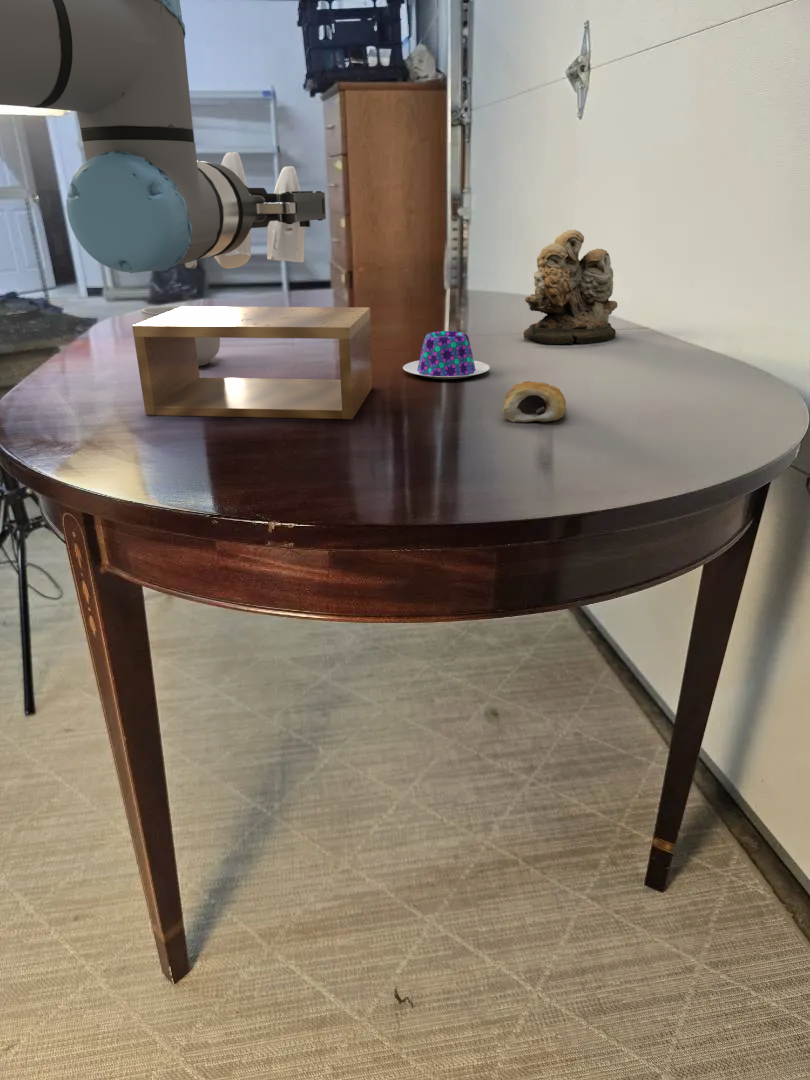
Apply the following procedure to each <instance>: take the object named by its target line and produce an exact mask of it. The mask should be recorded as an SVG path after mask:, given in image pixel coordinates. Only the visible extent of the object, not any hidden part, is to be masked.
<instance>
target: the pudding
mask: <svg viewBox="0 0 810 1080" xmlns="http://www.w3.org/2000/svg"><path fill="white" fill-rule="evenodd" d="M420 351H421V352H420V356H419V359H418V360H414V361H411V362H408V363H406V364H404V365H403V366H402V369H403V370H404V371H405V372H407V373H409V374H412V375H416V376H420V377H424V378H429V379H436V380H454V379H455V380H456V379H457V380H458V379H464V378H469V377H472V376H477V375H480V374H483V373H486V372H489V370H490V368H491V367H490V365H489V364H487V363H485V362H482V361H479V360H474V356H473V352H472V346H471V342H470V337H469V335H468V334H467V333H464V332H461V331H453V330H452V331H451V330H442V331H433V332H429V333H427V334H426V335H425V337H424V339H423V343H422V347H421V350H420Z"/></svg>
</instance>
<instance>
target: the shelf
mask: <svg viewBox="0 0 810 1080" xmlns="http://www.w3.org/2000/svg"><path fill="white" fill-rule="evenodd" d="M182 306H183V307H180V308H177V309H175V310H172V311H169V312H167V313H164V314H162V315H159V316H156V317H154V318H151V319H148V320H146V321H143V320H142V321H141V322H138V323H136V324H133V325H132V326H131V327H132V328H131V329H132V334H133V341H134V347H135V353H136V354H135V355H136V359H137V366H138V374H139V380H140V386H141V393H142V394H141V395H142V399H143V406H144V413H145V416H169V417H170V416H171V417H174V416H175V417H221V418H222V417H223V418H268V419H269V418H271V419H274V418H275V419H323V420H325V419H326V420H354V418H355V416H356V415H357V413H358V412H359V410H360V408H361V407H362V405H363V403H364V402H365V400H366V399H367V397H368V395H369V394H370V392H371V390H372V389H373V373H372V371H373V369H372V367H373V366H372V335H371V332H372V331H371V308H370V307H367V306H366V307H364V306H363V307H362V306H361V307H359V306H358V307H357V306H356V307H355V306H354V307H352V306H351V307H350V306H349V307H347V306H344V307H343V306H190V307H185V306H186V305H182ZM195 337H213V338H220V339H221V338H222V339H223V338H224V339H225V338H226V339H227V338H228V339H229V338H230V339H320V340H321V339H322V340H323V339H326V340H328V339H332V340H333V339H334V340H338V350H339V351H338V354H339V375H340V377H339V378H340V379H325V378H323V379H321V378H320V379H319V378H318V379H317V378H316V379H315V378H311V379H310V378H262V377H261V378H259V377H257V378H255V377H253V378H252V377H251V378H248V377H200V368H199V367H200V366H198V359H197V350H196V342H195Z"/></svg>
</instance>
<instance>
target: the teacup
mask: <svg viewBox="0 0 810 1080" xmlns="http://www.w3.org/2000/svg"><path fill="white" fill-rule="evenodd" d="M183 306H185V307H191V306H189V305H188V306H187V305H166V306H165V305H163V306H153V307H152V306H151V307H145V308H142V309H141V314H142V322H143V321H146V320H148V319H151V318H154V317H156V316H159V315H162V314H164V313H167V312H169V311H172V310H175V309H177V308H180V307H183ZM195 342H196V350H197V359H198V367H200V366H205V365H207V364H209V363H210V362H211V360H212V359H213V358H215V357H216V356H217V355H218V353H219V351H220V345H221V338H213V337H195Z"/></svg>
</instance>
